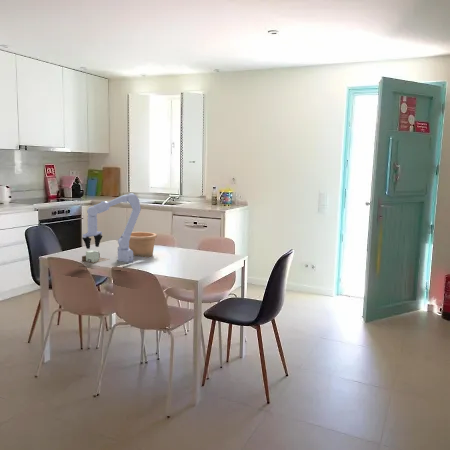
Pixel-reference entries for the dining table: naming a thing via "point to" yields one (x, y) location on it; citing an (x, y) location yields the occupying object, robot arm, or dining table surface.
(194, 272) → the dining table surface
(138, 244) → the pottery
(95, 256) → the sage block
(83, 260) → the cleat board
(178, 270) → the dining table surface
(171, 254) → the dining table surface
